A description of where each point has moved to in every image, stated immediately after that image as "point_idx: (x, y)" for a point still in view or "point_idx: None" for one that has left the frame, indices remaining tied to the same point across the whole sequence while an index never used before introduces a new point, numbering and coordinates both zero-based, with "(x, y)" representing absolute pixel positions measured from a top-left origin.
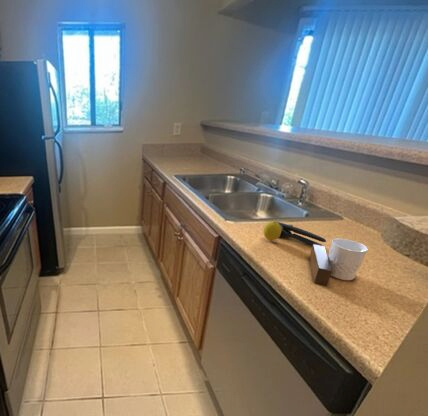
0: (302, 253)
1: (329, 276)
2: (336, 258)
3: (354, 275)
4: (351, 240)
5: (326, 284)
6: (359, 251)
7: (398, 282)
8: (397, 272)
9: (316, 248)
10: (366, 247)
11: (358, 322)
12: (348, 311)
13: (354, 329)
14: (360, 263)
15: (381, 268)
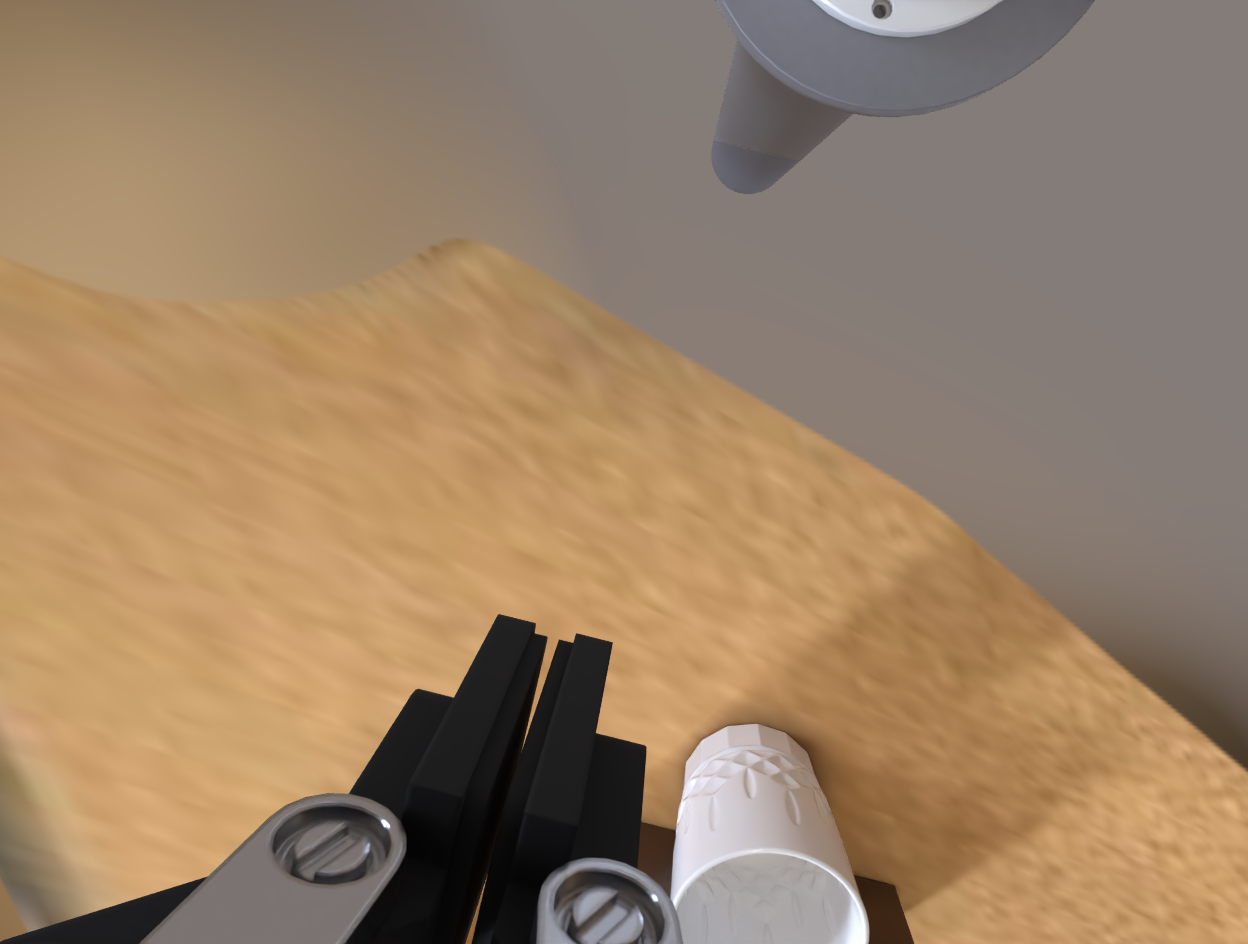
0: None
1: (911, 936)
2: (804, 924)
3: (801, 757)
4: (685, 889)
5: (894, 894)
6: (868, 925)
7: (763, 517)
8: (637, 456)
9: None
10: (788, 854)
11: (1176, 878)
12: (1100, 881)
13: (1227, 913)
14: (826, 815)
15: (610, 522)
